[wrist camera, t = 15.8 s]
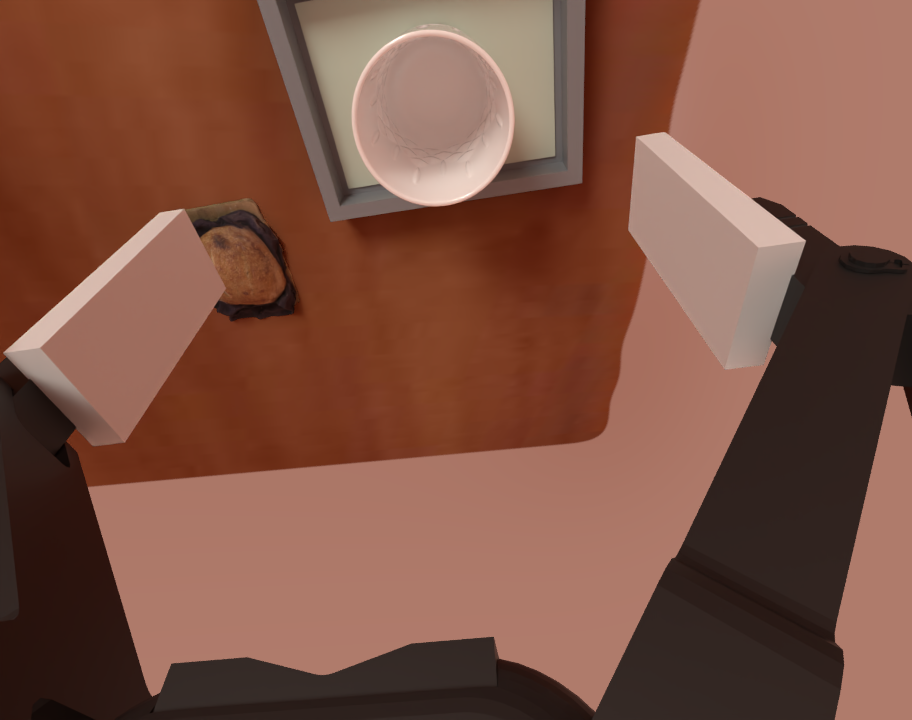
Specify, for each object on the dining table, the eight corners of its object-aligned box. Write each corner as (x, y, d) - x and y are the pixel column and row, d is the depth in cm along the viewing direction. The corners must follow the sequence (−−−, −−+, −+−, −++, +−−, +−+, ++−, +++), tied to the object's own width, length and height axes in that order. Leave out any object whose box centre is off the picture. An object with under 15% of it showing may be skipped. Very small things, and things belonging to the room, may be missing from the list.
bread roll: (162, 209, 38) (138, 229, 35) (264, 192, 37) (249, 211, 34) (223, 320, 44) (208, 344, 42) (311, 307, 44) (302, 331, 41)
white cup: (363, 128, 33) (338, 179, 25) (391, -11, 28) (370, -1, 20) (472, 165, 34) (481, 225, 27) (516, 40, 30) (541, 68, 22)
